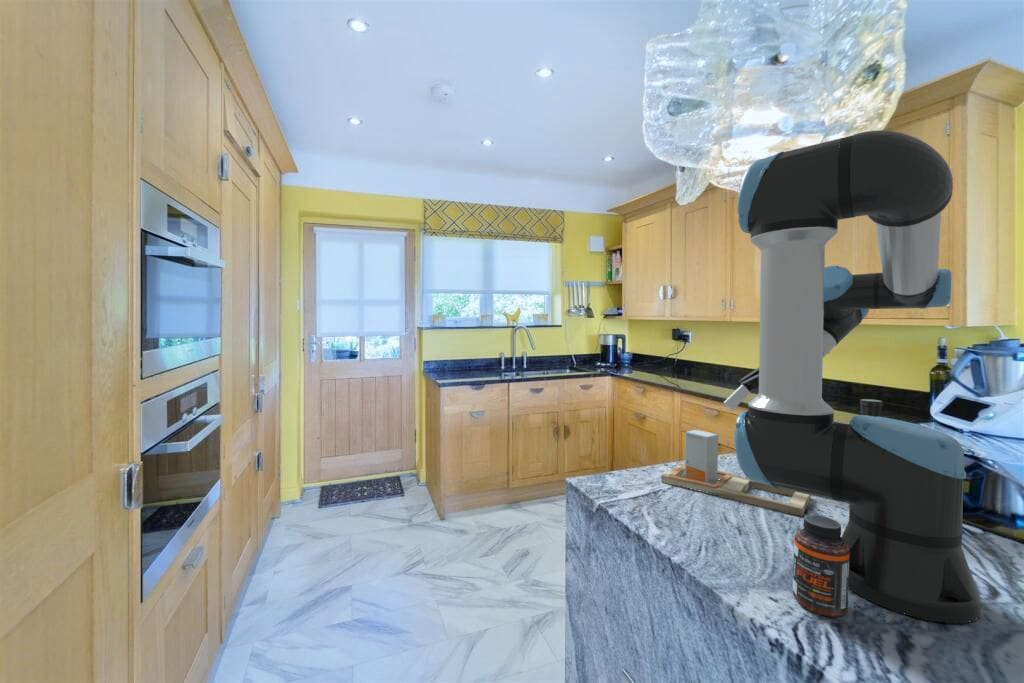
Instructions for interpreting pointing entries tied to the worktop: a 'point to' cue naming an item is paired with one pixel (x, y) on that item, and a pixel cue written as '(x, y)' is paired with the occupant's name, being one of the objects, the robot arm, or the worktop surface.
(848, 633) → the worktop surface
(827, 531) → the supplement bottle
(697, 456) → the skincare box
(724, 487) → the socket rail
